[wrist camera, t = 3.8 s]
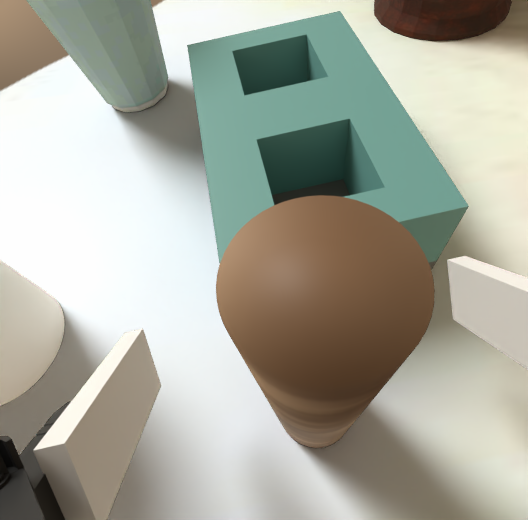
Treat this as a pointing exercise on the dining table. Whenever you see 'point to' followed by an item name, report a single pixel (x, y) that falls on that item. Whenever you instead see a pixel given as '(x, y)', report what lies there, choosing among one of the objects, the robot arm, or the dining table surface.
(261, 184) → the socket block
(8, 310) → the cup
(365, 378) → the walnut pin
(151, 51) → the disposable coffee cup
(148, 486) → the dining table surface
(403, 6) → the lantern
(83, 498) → the robot arm
